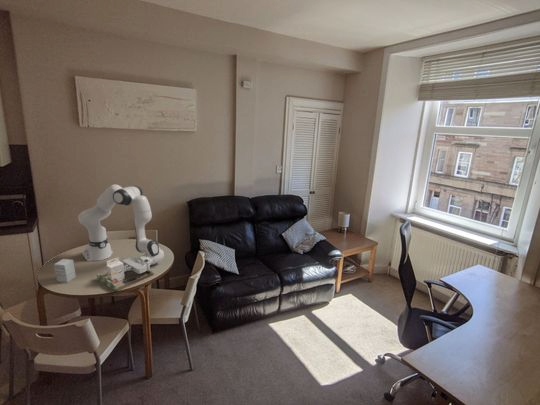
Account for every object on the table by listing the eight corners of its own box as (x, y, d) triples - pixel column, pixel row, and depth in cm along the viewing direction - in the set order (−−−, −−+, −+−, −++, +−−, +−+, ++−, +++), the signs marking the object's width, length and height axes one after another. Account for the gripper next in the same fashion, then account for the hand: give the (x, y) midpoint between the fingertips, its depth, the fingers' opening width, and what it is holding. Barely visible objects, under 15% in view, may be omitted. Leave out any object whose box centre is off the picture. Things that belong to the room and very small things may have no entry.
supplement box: (65, 275, 190) (62, 258, 186) (76, 277, 189) (73, 259, 186) (56, 281, 183) (53, 263, 179) (67, 283, 182) (64, 265, 179)
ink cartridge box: (112, 284, 183) (109, 263, 179) (108, 281, 186) (105, 261, 182) (125, 278, 190) (123, 258, 186) (121, 276, 192) (118, 256, 188)
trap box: (97, 279, 188) (96, 273, 187) (134, 264, 209) (134, 259, 208) (116, 291, 176) (115, 285, 175) (153, 274, 196) (153, 269, 195)
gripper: (133, 253, 205) (113, 260, 194) (150, 262, 194) (131, 270, 183) (134, 261, 207) (114, 269, 195) (151, 270, 196) (131, 279, 185)
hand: (122, 269), depth 189 cm, fingers closed, pressing on ink cartridge box
